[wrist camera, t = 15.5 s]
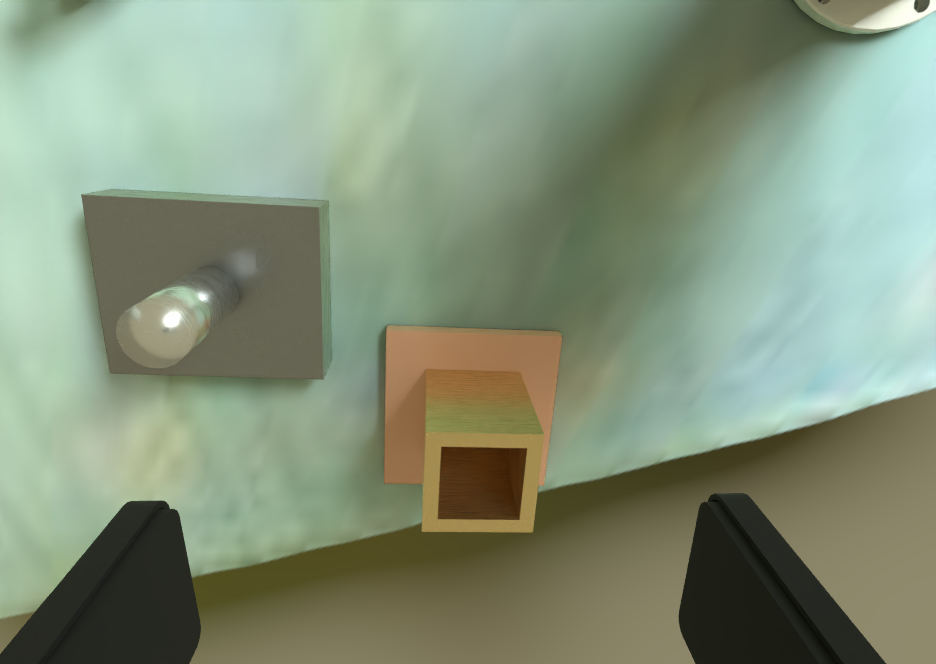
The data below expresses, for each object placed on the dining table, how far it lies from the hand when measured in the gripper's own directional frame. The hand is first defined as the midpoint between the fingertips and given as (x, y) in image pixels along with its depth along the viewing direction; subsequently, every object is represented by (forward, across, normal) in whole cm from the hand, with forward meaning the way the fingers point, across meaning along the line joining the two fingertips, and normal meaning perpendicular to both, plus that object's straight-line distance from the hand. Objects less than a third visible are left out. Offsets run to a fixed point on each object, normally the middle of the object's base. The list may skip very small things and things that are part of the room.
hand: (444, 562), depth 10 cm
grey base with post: (+25, +13, +2) cm, 28 cm away
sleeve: (+25, -2, +10) cm, 27 cm away
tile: (+26, -2, +10) cm, 28 cm away
